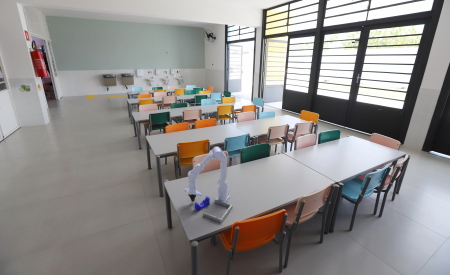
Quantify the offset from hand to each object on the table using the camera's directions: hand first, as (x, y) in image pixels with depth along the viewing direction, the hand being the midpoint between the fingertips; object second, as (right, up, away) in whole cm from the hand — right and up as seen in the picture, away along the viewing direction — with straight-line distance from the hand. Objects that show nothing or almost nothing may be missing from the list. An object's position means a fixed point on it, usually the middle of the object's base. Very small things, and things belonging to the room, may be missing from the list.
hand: (193, 201), depth 170 cm
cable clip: (+7, -3, -3) cm, 8 cm away
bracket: (+19, -5, -9) cm, 22 cm away
